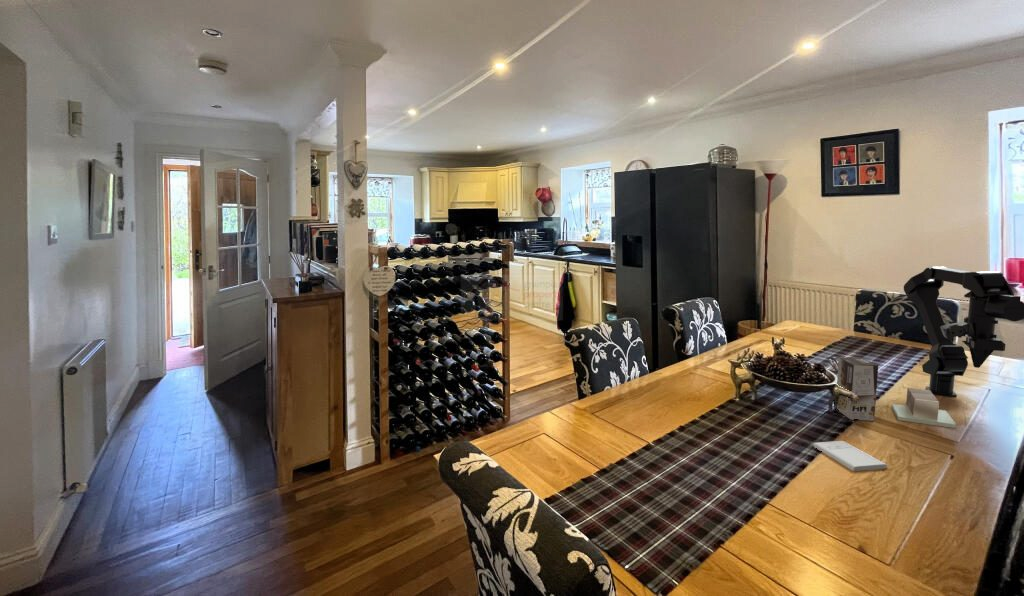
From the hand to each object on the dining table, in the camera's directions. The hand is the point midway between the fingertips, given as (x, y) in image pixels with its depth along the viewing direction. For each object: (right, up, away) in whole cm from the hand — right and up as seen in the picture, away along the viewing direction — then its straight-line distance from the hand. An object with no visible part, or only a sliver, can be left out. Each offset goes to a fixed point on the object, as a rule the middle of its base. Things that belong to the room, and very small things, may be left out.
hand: (976, 367), depth 137 cm
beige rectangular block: (-16, -9, +1) cm, 19 cm away
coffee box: (-37, -14, -1) cm, 39 cm away
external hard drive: (-56, -18, -25) cm, 64 cm away
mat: (-20, -13, -4) cm, 24 cm away
